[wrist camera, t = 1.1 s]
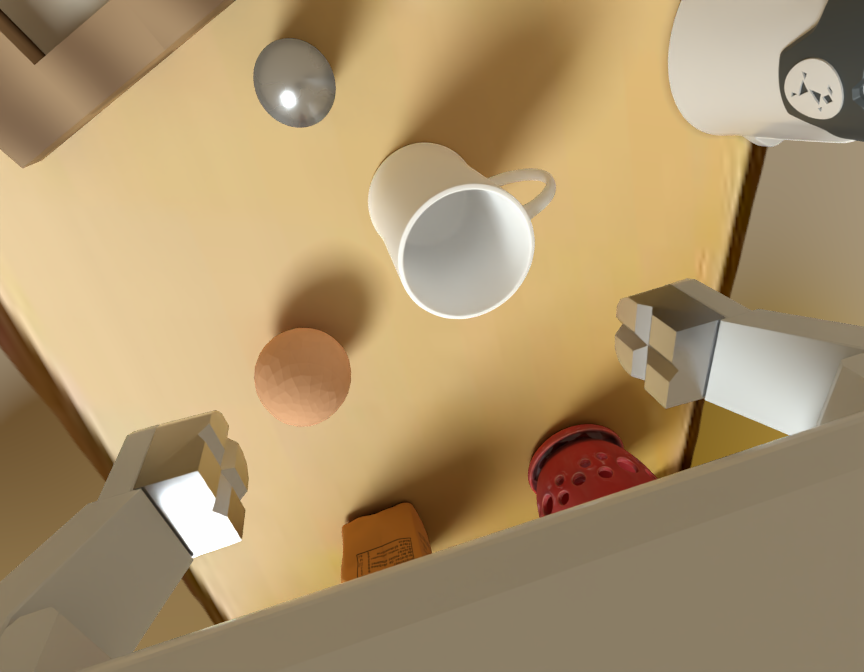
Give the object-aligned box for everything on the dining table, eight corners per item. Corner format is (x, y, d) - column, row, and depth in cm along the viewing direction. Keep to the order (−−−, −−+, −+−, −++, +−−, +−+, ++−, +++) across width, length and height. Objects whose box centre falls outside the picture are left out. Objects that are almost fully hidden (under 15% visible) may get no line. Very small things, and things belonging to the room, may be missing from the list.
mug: (500, 108, 35) (581, 131, 24) (523, 215, 39) (598, 272, 29) (349, 167, 34) (369, 214, 24) (390, 268, 39) (421, 343, 29)
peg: (300, 26, 29) (299, 19, 23) (341, 87, 32) (351, 97, 25) (250, 67, 30) (235, 71, 23) (293, 124, 32) (291, 143, 25)
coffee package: (351, 579, 58) (374, 821, 40) (332, 514, 52) (348, 768, 33) (429, 558, 60) (486, 782, 42) (420, 492, 53) (482, 723, 35)
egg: (263, 304, 38) (255, 362, 31) (354, 317, 40) (366, 374, 33) (253, 379, 41) (243, 448, 34) (338, 387, 44) (345, 452, 36)
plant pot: (564, 397, 51) (628, 481, 41) (637, 433, 57) (709, 515, 47) (492, 479, 55) (534, 574, 45) (567, 505, 61) (620, 594, 51)
